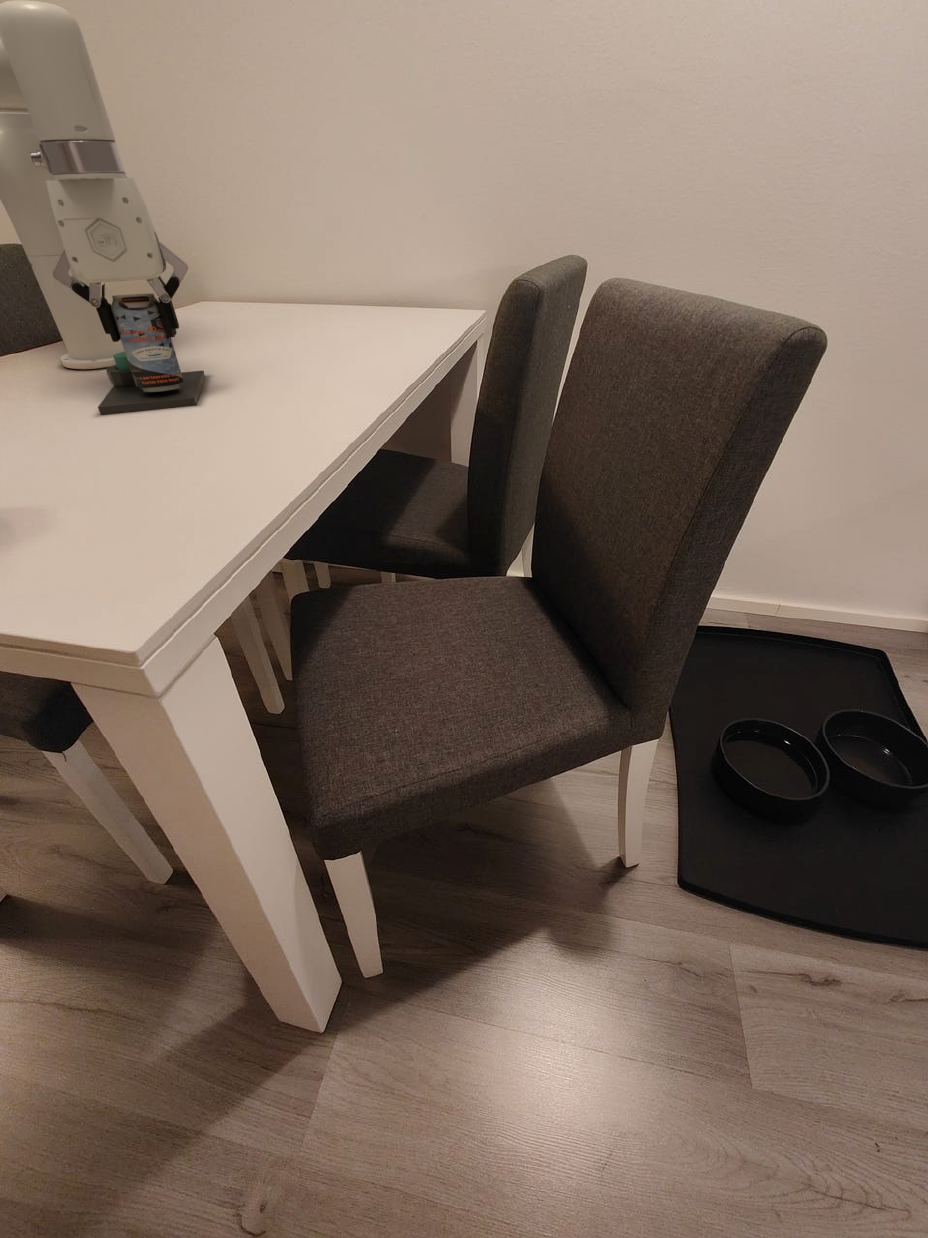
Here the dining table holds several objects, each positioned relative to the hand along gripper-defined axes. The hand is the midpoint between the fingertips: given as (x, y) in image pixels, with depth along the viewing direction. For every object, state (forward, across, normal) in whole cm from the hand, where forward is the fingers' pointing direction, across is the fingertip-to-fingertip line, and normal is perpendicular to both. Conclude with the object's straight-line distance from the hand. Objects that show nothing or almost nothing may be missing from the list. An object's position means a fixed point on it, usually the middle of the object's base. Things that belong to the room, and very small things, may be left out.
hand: (145, 335), depth 75 cm
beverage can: (+7, 0, 0) cm, 7 cm away
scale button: (+5, -5, +6) cm, 10 cm away
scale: (+8, -2, +2) cm, 8 cm away
